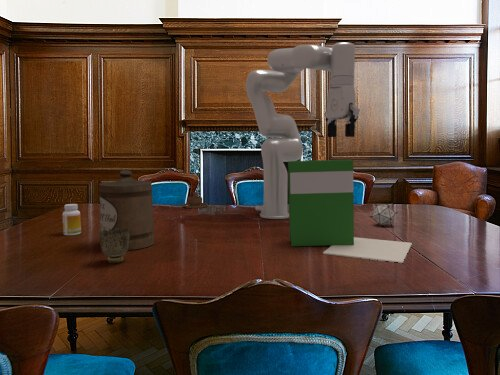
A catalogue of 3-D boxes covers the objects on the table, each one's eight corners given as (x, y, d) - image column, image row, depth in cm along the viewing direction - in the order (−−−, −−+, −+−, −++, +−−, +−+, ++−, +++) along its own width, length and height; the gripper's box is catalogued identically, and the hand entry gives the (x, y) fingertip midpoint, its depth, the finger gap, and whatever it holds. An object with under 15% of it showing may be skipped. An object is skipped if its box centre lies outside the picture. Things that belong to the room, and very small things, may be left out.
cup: (104, 258, 106) (103, 227, 105) (133, 257, 106) (132, 226, 105) (96, 266, 98) (94, 233, 97) (127, 265, 99) (126, 233, 98)
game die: (388, 236, 146) (400, 217, 139) (365, 227, 147) (376, 208, 141) (390, 221, 153) (402, 201, 146) (368, 212, 154) (379, 192, 147)
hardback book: (291, 246, 117) (289, 161, 115) (289, 240, 124) (288, 161, 122) (353, 244, 117) (353, 160, 114) (348, 239, 124) (347, 159, 122)
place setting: (171, 208, 192) (171, 196, 191) (193, 203, 210) (193, 191, 209) (204, 210, 185) (204, 197, 184) (224, 204, 203) (224, 193, 203)
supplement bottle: (84, 232, 136) (83, 203, 135) (73, 236, 131) (71, 206, 130) (71, 231, 138) (70, 203, 137) (59, 235, 133) (58, 205, 132)
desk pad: (322, 253, 109) (322, 252, 109) (343, 237, 128) (343, 236, 128) (402, 263, 100) (402, 261, 100) (411, 244, 119) (412, 242, 119)
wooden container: (99, 241, 124) (96, 168, 122) (149, 237, 130) (147, 167, 127) (103, 253, 110) (99, 171, 108) (158, 248, 116) (156, 170, 114)
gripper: (317, 85, 138) (316, 137, 140) (349, 78, 123) (347, 136, 125) (335, 87, 141) (334, 137, 143) (369, 80, 126) (367, 136, 128)
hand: (340, 136), depth 134 cm, fingers open, 9 cm apart
